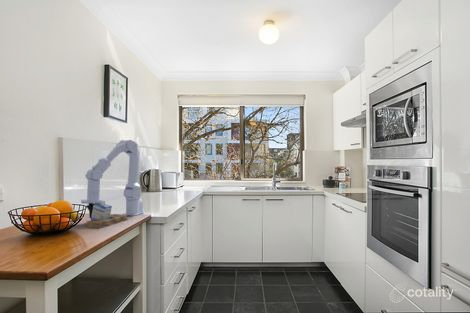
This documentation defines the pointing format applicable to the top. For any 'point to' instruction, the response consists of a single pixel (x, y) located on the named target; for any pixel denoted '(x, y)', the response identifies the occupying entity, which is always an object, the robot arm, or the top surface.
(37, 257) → the top surface
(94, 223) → the walnut channel
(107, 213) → the medicine box
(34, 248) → the top surface
